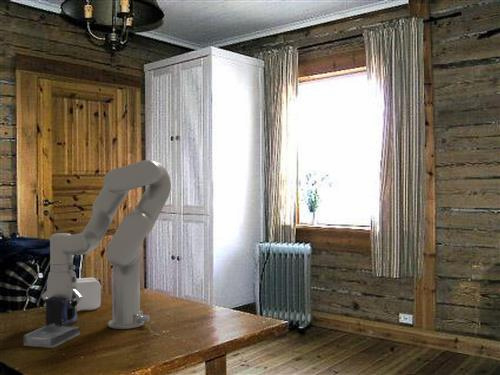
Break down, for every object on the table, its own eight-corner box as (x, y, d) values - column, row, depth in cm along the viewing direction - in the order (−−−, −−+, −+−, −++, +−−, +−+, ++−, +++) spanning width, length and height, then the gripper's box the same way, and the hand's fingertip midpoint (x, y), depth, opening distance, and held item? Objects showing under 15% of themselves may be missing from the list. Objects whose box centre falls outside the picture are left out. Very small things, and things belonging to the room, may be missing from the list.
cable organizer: (61, 313, 198) (61, 283, 198) (59, 307, 207) (58, 279, 207) (100, 309, 204) (100, 280, 204) (97, 303, 214) (96, 276, 214)
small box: (61, 330, 175) (61, 299, 175) (44, 329, 176) (44, 299, 176) (78, 322, 185) (78, 293, 185) (62, 321, 186) (61, 292, 186)
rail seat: (79, 334, 170) (79, 324, 170) (53, 347, 156) (53, 337, 156) (52, 332, 172) (52, 322, 172) (23, 345, 158) (23, 335, 158)
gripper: (89, 267, 182) (89, 317, 182) (46, 265, 186) (47, 314, 186) (77, 270, 175) (77, 322, 175) (33, 269, 179) (33, 319, 179)
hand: (61, 317), depth 181 cm, fingers closed on small box, 6 cm apart
